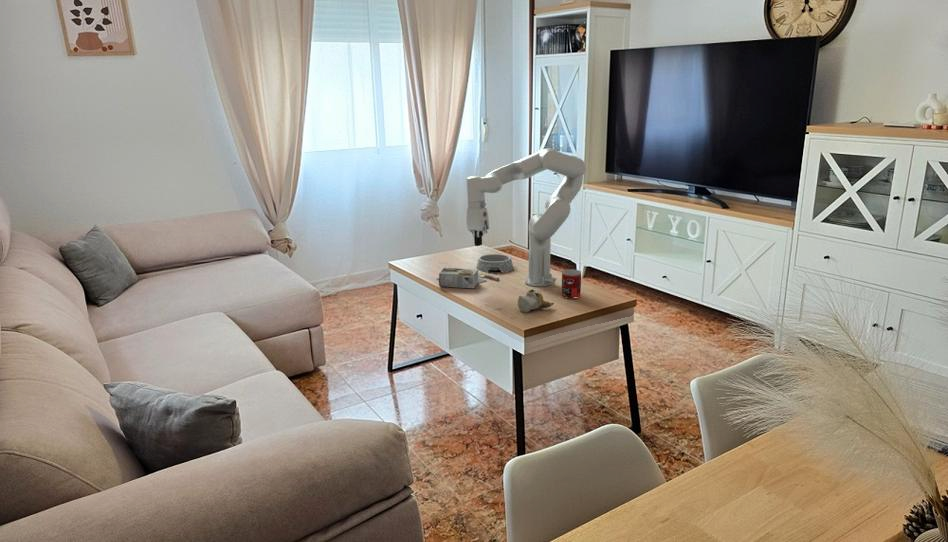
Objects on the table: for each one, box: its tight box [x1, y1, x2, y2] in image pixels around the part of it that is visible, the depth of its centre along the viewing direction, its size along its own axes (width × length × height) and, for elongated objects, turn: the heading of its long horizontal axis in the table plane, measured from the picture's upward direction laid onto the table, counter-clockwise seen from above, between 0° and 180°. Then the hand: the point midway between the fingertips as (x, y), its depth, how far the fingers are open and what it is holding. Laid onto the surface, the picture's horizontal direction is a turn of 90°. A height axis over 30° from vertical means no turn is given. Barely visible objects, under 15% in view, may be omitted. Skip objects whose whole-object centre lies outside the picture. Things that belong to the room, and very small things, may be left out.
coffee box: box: [438, 267, 479, 289], centre depth 279 cm, size 9×6×16 cm
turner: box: [478, 271, 500, 282], centre depth 291 cm, size 15×4×1 cm, turn 46°
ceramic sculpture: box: [517, 289, 555, 313], centre depth 247 cm, size 11×9×15 cm
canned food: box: [561, 268, 582, 298], centre depth 261 cm, size 8×8×11 cm
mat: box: [436, 277, 487, 285], centre depth 287 cm, size 19×14×1 cm
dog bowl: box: [475, 253, 514, 273], centre depth 306 cm, size 17×18×5 cm
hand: (478, 245), depth 275 cm, fingers closed
